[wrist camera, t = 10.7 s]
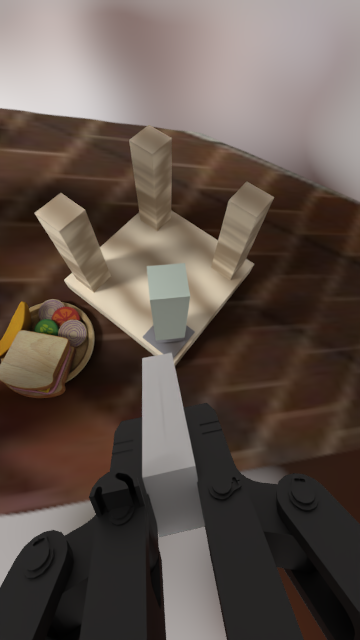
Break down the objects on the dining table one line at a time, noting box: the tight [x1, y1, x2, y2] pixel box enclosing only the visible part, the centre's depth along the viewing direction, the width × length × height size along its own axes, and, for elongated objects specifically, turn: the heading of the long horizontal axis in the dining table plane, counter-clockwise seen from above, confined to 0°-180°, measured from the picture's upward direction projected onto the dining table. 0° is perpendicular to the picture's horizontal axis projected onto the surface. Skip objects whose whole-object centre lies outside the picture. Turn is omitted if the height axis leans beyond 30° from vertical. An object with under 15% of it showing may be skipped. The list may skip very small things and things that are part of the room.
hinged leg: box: [147, 263, 190, 343], centre depth 30 cm, size 4×4×13 cm
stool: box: [35, 125, 274, 366], centre depth 35 cm, size 20×20×16 cm
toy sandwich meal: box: [0, 299, 95, 398], centre depth 36 cm, size 12×14×5 cm
